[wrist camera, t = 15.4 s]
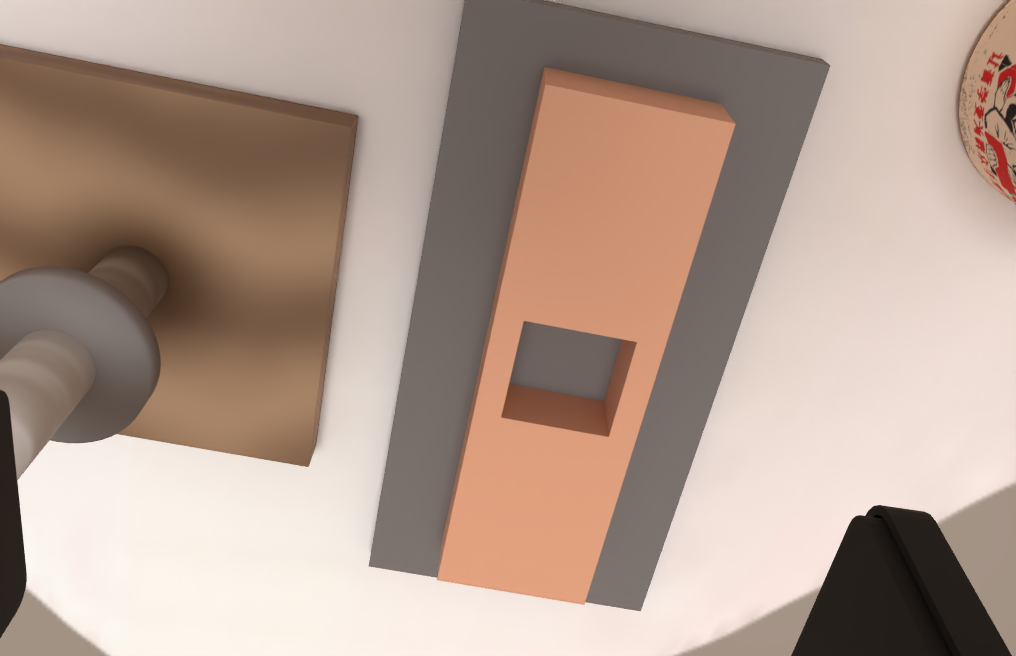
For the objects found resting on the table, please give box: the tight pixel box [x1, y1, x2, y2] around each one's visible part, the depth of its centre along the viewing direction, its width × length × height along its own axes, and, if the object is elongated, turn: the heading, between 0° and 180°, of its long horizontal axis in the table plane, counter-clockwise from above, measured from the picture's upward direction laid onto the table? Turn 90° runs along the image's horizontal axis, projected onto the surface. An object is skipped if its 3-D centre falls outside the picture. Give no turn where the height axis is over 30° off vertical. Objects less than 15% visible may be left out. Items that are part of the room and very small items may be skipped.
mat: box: [369, 0, 830, 611], centre depth 37 cm, size 24×12×1 cm, turn 169°
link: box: [437, 67, 735, 605], centre depth 35 cm, size 20×6×2 cm, turn 169°
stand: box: [0, 45, 358, 480], centre depth 30 cm, size 14×14×14 cm
